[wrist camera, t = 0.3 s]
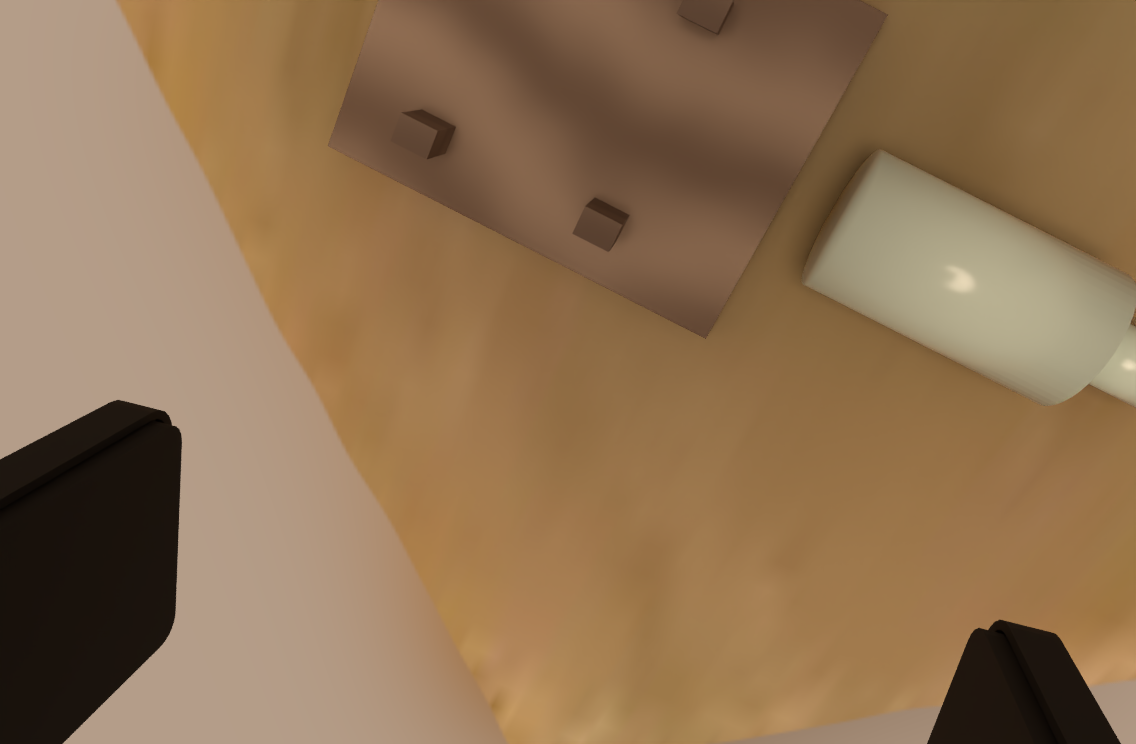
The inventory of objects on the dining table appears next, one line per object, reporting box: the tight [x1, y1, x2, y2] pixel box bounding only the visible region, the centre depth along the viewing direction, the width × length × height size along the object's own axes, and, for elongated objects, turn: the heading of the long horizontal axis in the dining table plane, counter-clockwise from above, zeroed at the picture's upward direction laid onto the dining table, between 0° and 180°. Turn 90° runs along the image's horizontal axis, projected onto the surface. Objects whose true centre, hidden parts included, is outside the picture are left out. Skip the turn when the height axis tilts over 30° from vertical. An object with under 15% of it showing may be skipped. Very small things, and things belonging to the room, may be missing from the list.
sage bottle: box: [802, 149, 1136, 408], centre depth 34 cm, size 14×6×6 cm, turn 65°
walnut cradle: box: [328, 0, 888, 339], centre depth 35 cm, size 14×18×3 cm
